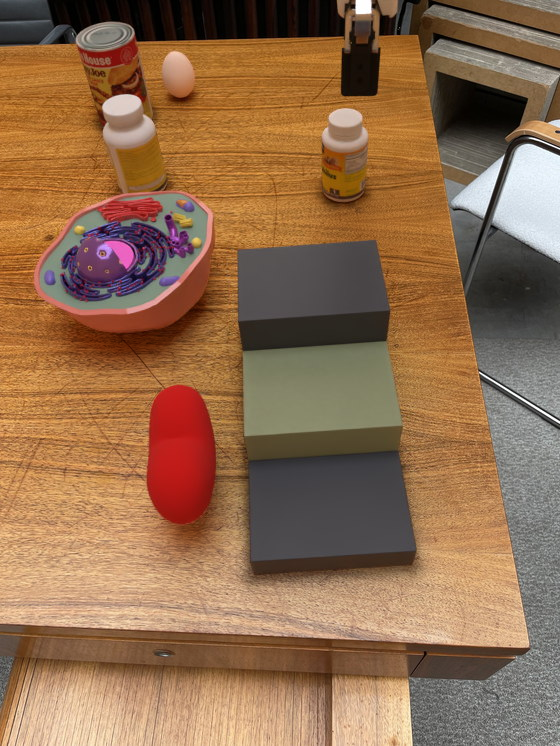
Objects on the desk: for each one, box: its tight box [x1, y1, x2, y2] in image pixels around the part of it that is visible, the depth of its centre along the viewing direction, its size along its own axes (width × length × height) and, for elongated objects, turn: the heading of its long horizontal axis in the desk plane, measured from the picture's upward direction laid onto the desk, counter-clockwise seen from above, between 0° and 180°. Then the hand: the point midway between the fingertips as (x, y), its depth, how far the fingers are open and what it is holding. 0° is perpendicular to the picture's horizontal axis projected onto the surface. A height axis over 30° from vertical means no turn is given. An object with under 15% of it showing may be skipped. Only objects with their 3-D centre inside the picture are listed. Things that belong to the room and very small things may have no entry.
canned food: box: [75, 21, 154, 129], centre depth 90 cm, size 8×8×12 cm
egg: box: [161, 50, 196, 99], centre depth 95 cm, size 5×5×7 cm
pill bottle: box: [102, 94, 168, 194], centre depth 80 cm, size 6×6×12 cm
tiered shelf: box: [236, 239, 417, 576], centre depth 56 cm, size 13×27×11 cm, turn 3°
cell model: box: [33, 190, 216, 334], centre depth 67 cm, size 17×20×11 cm
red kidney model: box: [146, 384, 217, 526], centre depth 53 cm, size 12×5×10 cm, turn 4°
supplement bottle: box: [321, 107, 369, 203], centre depth 77 cm, size 6×6×10 cm
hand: (359, 66), depth 59 cm, fingers open, 9 cm apart
